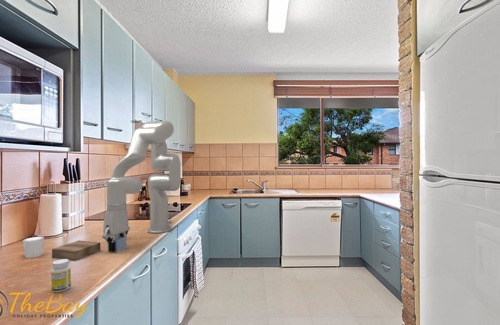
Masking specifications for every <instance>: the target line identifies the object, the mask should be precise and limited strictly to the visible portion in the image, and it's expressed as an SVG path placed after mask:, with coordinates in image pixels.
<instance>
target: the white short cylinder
mask: <svg viewBox="0 0 500 325" xmlns="http://www.w3.org/2000/svg"><path fill="white" fill-rule="evenodd" d="M22 244H23V252H24V258H25V259H33V258H37V257H40V256H43V253H44V252H43V250H44V244H45V237H44V236H33V237H28V238H25V239H23V240H22Z"/></svg>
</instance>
